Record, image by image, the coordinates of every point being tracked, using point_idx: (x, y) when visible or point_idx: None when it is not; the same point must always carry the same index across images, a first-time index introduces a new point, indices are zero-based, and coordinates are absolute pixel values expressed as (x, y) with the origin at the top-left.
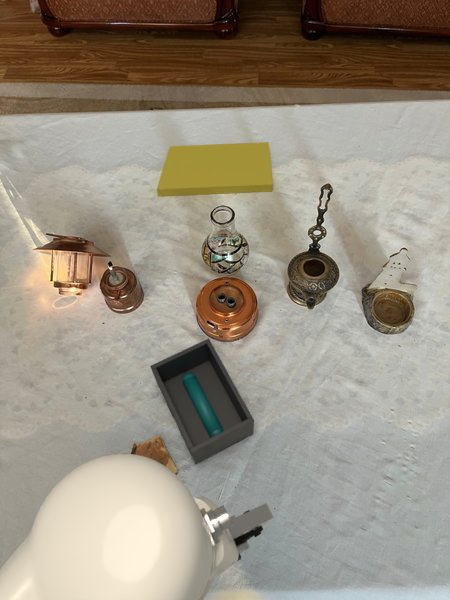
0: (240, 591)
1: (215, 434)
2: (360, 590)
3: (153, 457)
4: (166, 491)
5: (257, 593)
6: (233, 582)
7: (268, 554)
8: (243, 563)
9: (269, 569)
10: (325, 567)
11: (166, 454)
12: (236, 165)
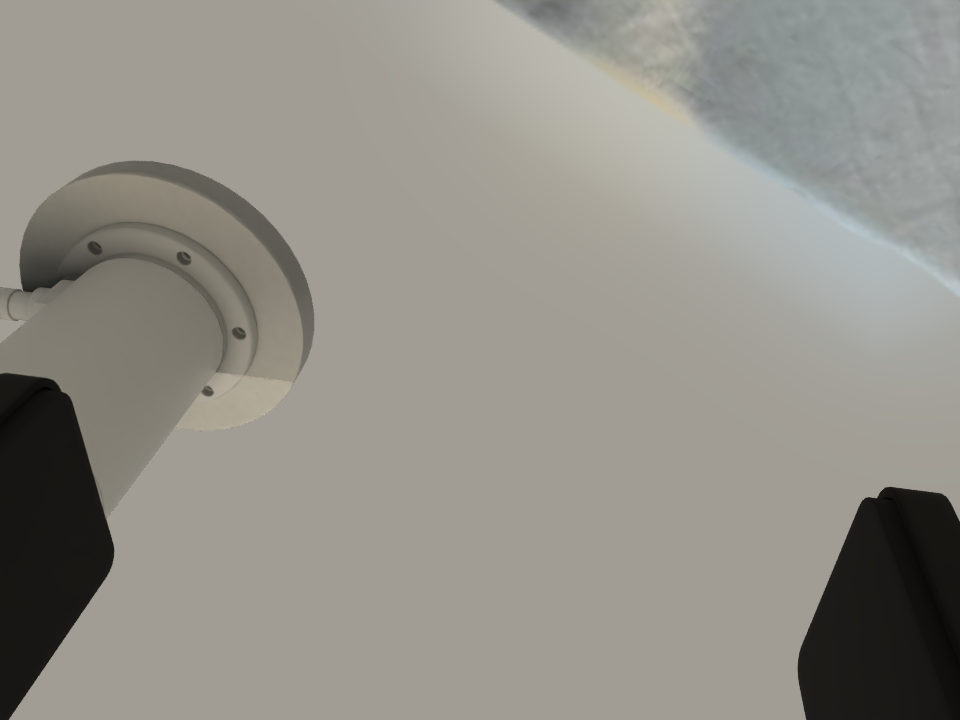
0: (653, 94)
1: None
2: (934, 275)
3: None
4: None
5: (692, 126)
6: (651, 61)
7: (795, 53)
8: (711, 31)
9: (766, 92)
10: (907, 180)
11: None
12: None
